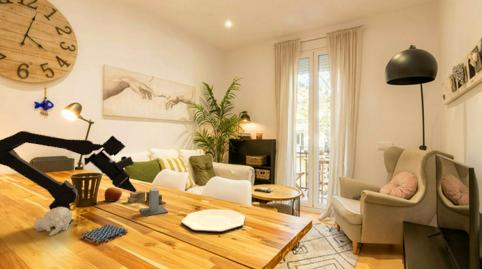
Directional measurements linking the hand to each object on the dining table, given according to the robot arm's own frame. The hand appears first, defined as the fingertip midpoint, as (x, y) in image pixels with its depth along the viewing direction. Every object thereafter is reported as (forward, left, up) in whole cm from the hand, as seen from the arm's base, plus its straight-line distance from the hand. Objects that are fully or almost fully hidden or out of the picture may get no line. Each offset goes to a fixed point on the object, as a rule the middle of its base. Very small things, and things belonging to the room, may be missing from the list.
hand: (134, 189), depth 100 cm
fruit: (+26, +14, -11) cm, 31 cm away
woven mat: (-21, +5, -11) cm, 25 cm away
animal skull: (-13, +24, -11) cm, 30 cm away
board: (+2, -8, -10) cm, 13 cm away
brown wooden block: (+18, -7, -10) cm, 22 cm away
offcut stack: (+22, +2, -10) cm, 25 cm away
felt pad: (+2, -8, -10) cm, 13 cm away
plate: (-16, -32, -11) cm, 38 cm away
